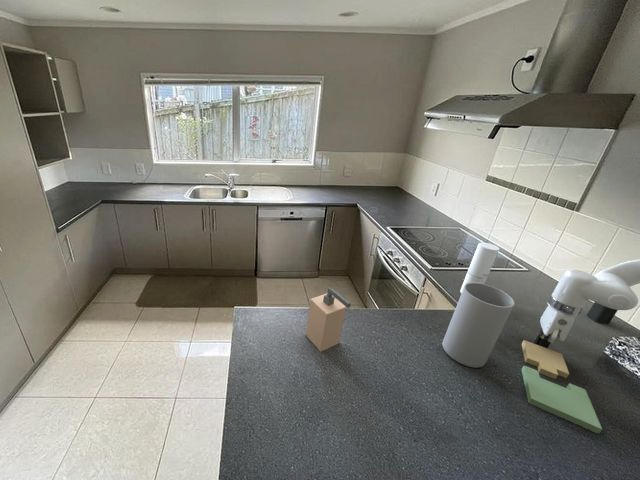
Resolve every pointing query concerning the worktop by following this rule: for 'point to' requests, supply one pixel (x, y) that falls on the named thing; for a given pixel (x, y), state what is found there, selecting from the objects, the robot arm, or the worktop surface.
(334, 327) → the soap dispenser
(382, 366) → the worktop surface
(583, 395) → the big pad
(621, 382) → the worktop surface
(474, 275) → the cylindrical container
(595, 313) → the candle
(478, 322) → the cylinder vase
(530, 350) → the small pad
